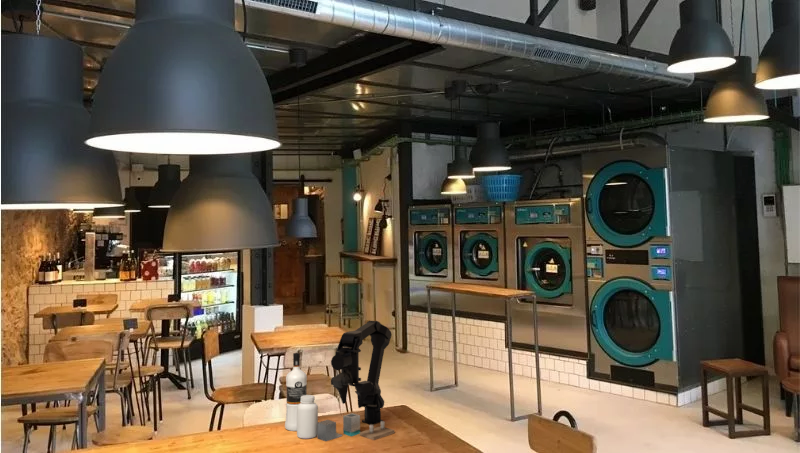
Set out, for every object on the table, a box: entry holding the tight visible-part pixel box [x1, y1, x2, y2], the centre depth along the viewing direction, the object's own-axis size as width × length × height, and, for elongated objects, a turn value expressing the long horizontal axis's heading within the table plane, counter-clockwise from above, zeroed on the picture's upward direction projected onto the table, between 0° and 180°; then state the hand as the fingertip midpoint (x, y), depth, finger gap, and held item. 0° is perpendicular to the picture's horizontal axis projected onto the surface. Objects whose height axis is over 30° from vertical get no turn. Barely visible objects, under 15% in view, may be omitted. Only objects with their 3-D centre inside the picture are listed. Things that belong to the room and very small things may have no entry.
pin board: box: [359, 420, 395, 441], centre depth 218 cm, size 8×11×4 cm
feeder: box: [316, 419, 343, 442], centre depth 215 cm, size 5×8×6 cm, turn 137°
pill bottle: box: [296, 394, 319, 439], centre depth 218 cm, size 8×8×15 cm
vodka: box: [284, 352, 308, 432], centre depth 228 cm, size 9×9×30 cm
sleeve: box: [342, 412, 361, 437], centre depth 219 cm, size 5×5×7 cm
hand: (351, 405), depth 220 cm, fingers open, 9 cm apart
